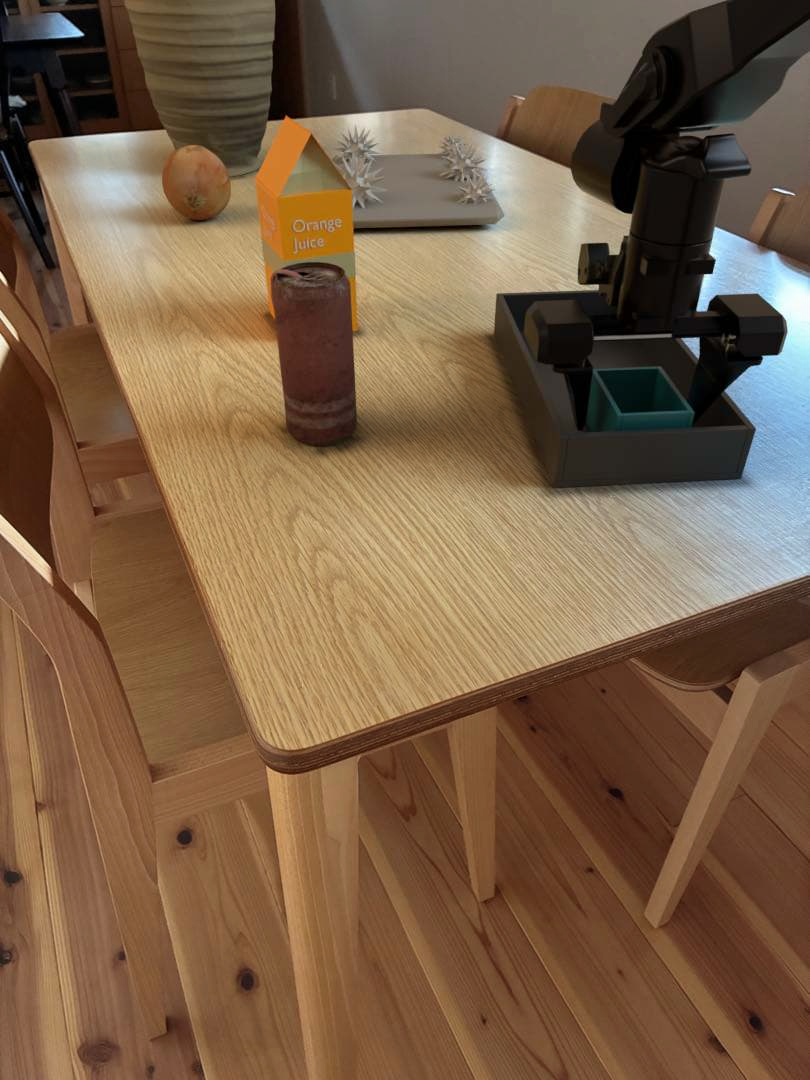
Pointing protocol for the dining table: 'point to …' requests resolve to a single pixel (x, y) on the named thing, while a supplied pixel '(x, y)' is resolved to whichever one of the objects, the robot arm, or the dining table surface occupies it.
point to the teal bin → (635, 401)
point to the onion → (196, 182)
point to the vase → (209, 72)
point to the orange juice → (304, 208)
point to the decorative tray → (416, 186)
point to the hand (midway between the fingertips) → (633, 425)
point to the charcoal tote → (617, 455)
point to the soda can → (315, 351)
